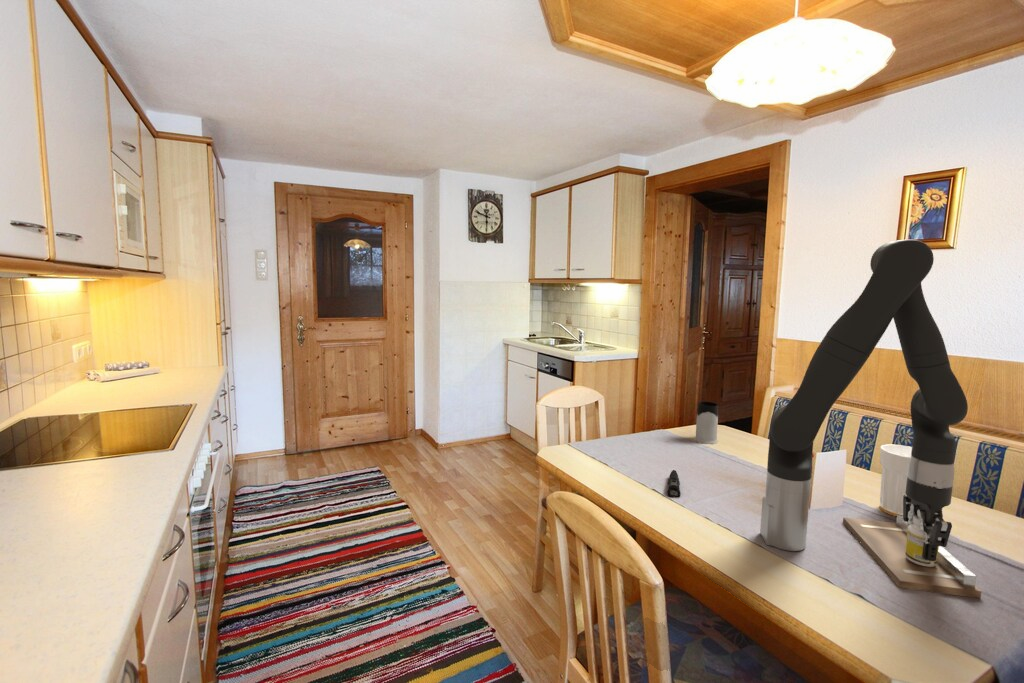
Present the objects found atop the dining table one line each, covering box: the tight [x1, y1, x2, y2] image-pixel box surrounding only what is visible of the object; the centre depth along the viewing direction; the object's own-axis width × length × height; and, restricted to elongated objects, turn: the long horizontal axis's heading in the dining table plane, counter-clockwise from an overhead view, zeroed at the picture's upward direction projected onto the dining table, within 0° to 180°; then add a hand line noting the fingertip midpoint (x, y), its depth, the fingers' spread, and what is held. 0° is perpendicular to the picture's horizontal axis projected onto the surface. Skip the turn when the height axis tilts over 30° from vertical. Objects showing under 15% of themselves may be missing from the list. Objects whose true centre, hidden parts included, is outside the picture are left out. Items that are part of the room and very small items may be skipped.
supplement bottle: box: [905, 515, 939, 567], centre depth 106 cm, size 5×5×10 cm
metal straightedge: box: [895, 515, 978, 588], centre depth 110 cm, size 2×26×2 cm, turn 166°
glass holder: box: [694, 401, 719, 445], centre depth 195 cm, size 9×14×15 cm, turn 162°
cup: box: [878, 444, 912, 517], centre depth 133 cm, size 11×11×17 cm
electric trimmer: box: [666, 469, 682, 498], centre depth 149 cm, size 4×16×3 cm, turn 161°
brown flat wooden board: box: [842, 517, 982, 599], centre depth 112 cm, size 14×28×2 cm, turn 166°
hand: (921, 551), depth 107 cm, fingers closed on supplement bottle, 5 cm apart
